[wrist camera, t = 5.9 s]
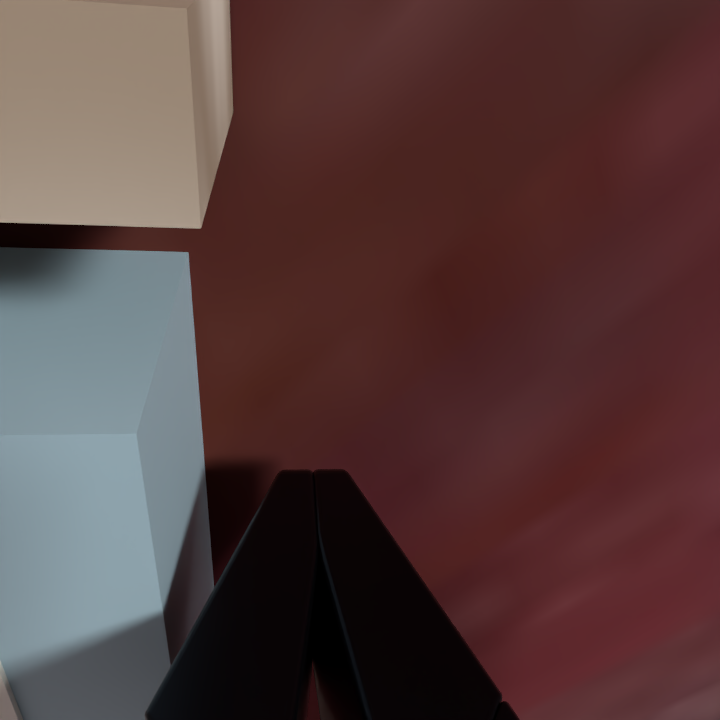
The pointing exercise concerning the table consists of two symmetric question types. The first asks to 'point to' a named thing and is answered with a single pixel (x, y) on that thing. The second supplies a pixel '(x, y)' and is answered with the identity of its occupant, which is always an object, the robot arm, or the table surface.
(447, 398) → the table surface
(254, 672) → the robot arm
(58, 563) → the light blue rectangular block
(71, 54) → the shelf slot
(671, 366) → the table surface
